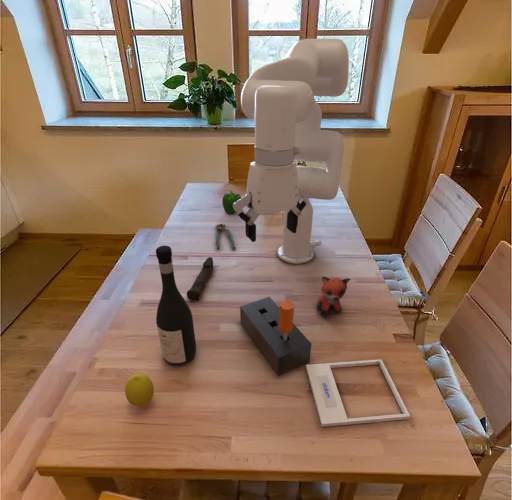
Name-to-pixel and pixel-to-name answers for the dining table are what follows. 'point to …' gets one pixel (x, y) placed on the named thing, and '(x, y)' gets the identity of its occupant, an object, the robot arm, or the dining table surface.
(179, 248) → the dining table surface
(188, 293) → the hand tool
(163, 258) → the wine bottle
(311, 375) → the photo frame
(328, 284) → the stuffed fox
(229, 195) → the bell pepper
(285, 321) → the orange tool handle
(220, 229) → the pliers
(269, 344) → the rack
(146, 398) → the lemon
